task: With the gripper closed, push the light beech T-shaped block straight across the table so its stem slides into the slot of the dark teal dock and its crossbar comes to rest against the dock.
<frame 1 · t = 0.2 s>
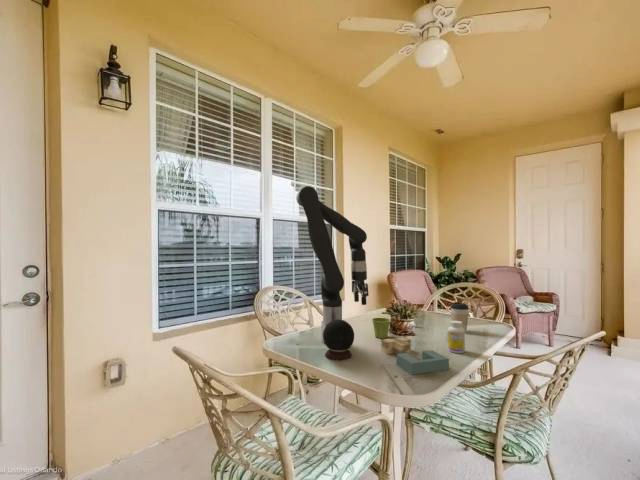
hand: (360, 303, 156), 18 cm above the table, tool pointing down, fingers open, 8 cm apart
plant pot: (381, 337, 161), on the table
t block: (396, 351, 139), on the table
dock: (420, 366, 122), on the table
supplement bottle: (456, 351, 139), on the table
black ball on stand: (338, 356, 134), on the table
place setting: (406, 332, 172), on the table
coffee cup: (459, 331, 171), on the table
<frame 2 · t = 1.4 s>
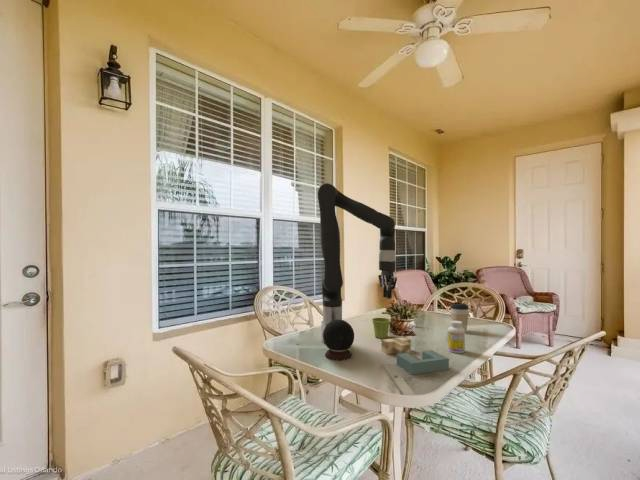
hand: (387, 297, 147), 22 cm above the table, tool pointing down, fingers closed
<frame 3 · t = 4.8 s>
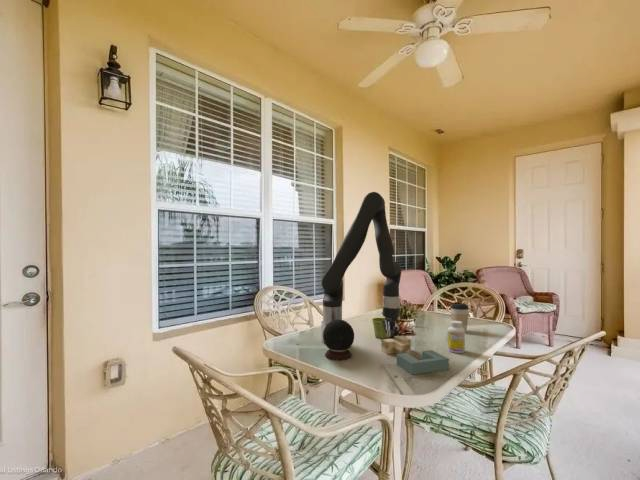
hand: (391, 344, 144), 2 cm above the table, tool pointing down, fingers closed
t block: (396, 351, 139), on the table, touching gripper
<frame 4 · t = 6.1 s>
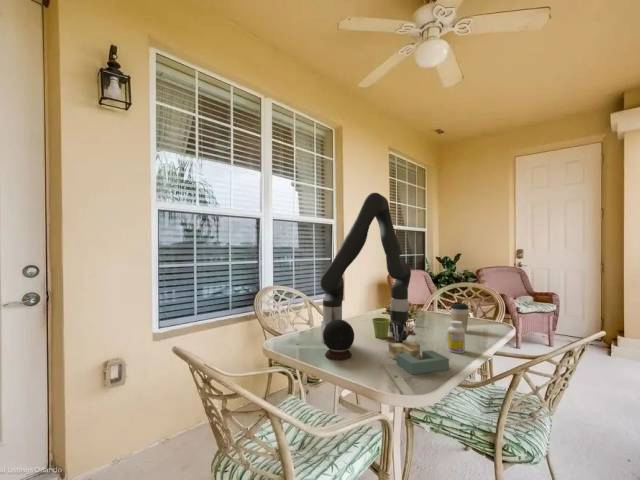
hand: (399, 349, 137), 2 cm above the table, tool pointing down, fingers closed
t block: (404, 356, 133), on the table, touching gripper
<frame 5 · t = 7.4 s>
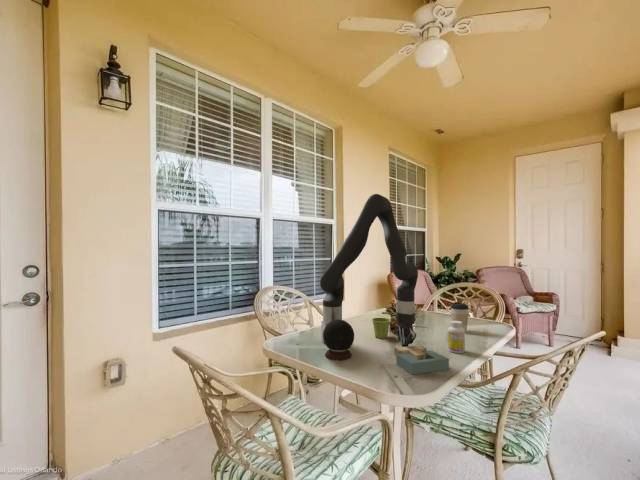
hand: (405, 352, 133), 2 cm above the table, tool pointing down, fingers closed
t block: (410, 360, 128), on the table, touching dock, gripper
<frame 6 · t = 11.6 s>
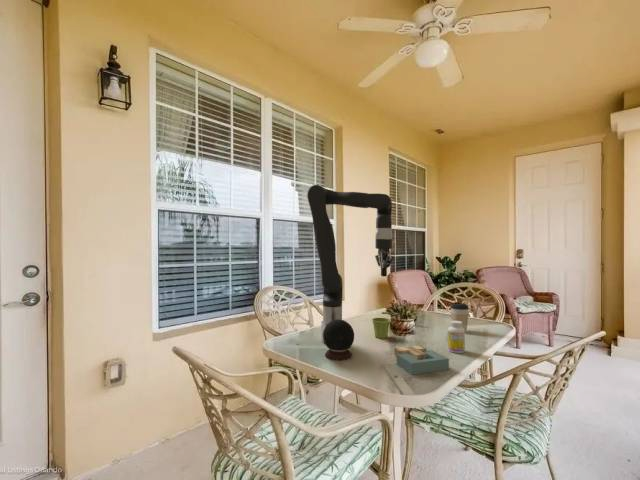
hand: (383, 276, 146), 32 cm above the table, tool pointing down, fingers closed
t block: (410, 360, 128), on the table
at the end: t block 0.7 cm from the target spot, on the table; t block tilted 1° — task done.
